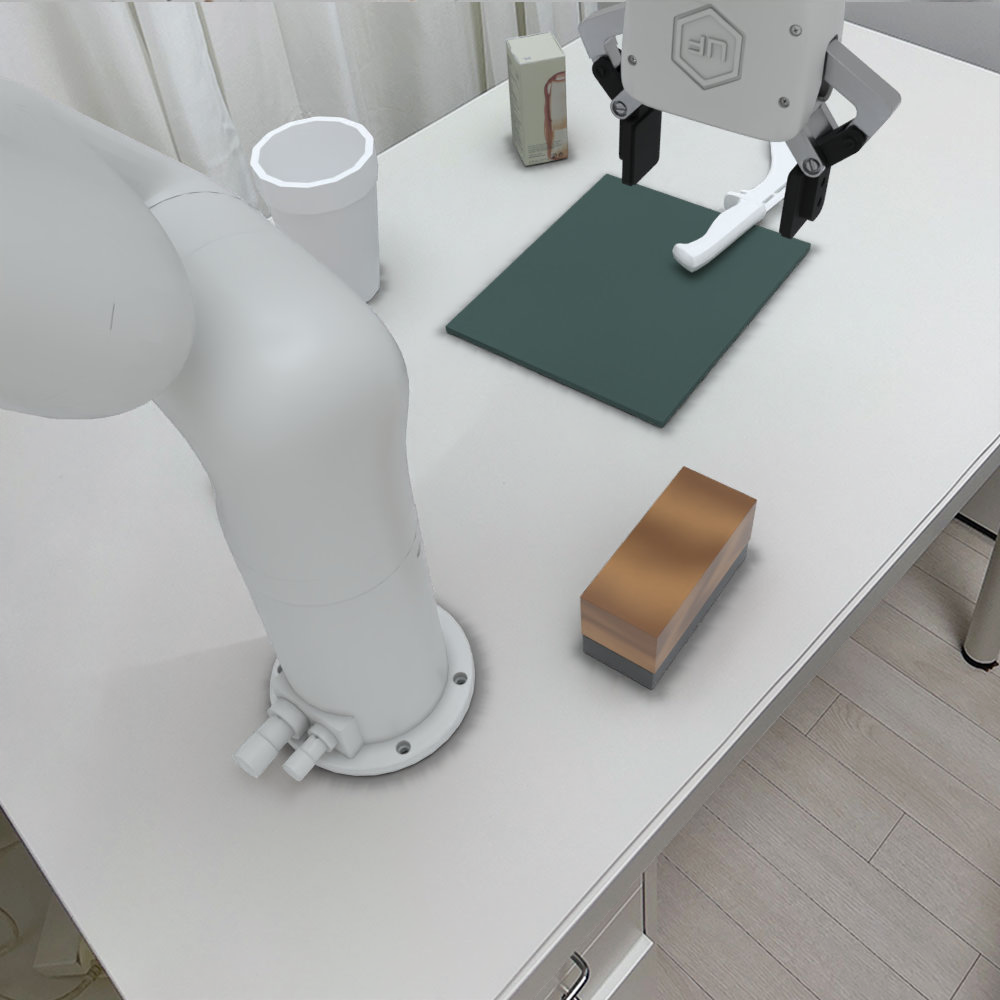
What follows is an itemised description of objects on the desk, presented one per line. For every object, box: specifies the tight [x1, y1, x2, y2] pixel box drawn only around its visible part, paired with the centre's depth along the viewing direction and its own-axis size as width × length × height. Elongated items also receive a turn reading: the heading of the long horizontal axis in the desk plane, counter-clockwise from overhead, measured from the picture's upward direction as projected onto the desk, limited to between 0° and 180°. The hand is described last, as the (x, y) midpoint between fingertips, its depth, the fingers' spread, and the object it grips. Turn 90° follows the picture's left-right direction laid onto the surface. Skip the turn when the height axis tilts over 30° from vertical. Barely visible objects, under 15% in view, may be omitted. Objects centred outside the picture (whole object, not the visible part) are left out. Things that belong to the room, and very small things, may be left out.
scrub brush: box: [579, 465, 758, 690], centre depth 68 cm, size 12×5×6 cm, turn 144°
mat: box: [445, 173, 812, 429], centre depth 90 cm, size 24×20×1 cm
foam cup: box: [249, 115, 381, 303], centre depth 88 cm, size 10×9×13 cm
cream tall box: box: [505, 30, 569, 167], centre depth 100 cm, size 5×4×10 cm
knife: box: [672, 141, 797, 272], centre depth 97 cm, size 30×2×8 cm
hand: (716, 198), depth 62 cm, fingers open, 9 cm apart
